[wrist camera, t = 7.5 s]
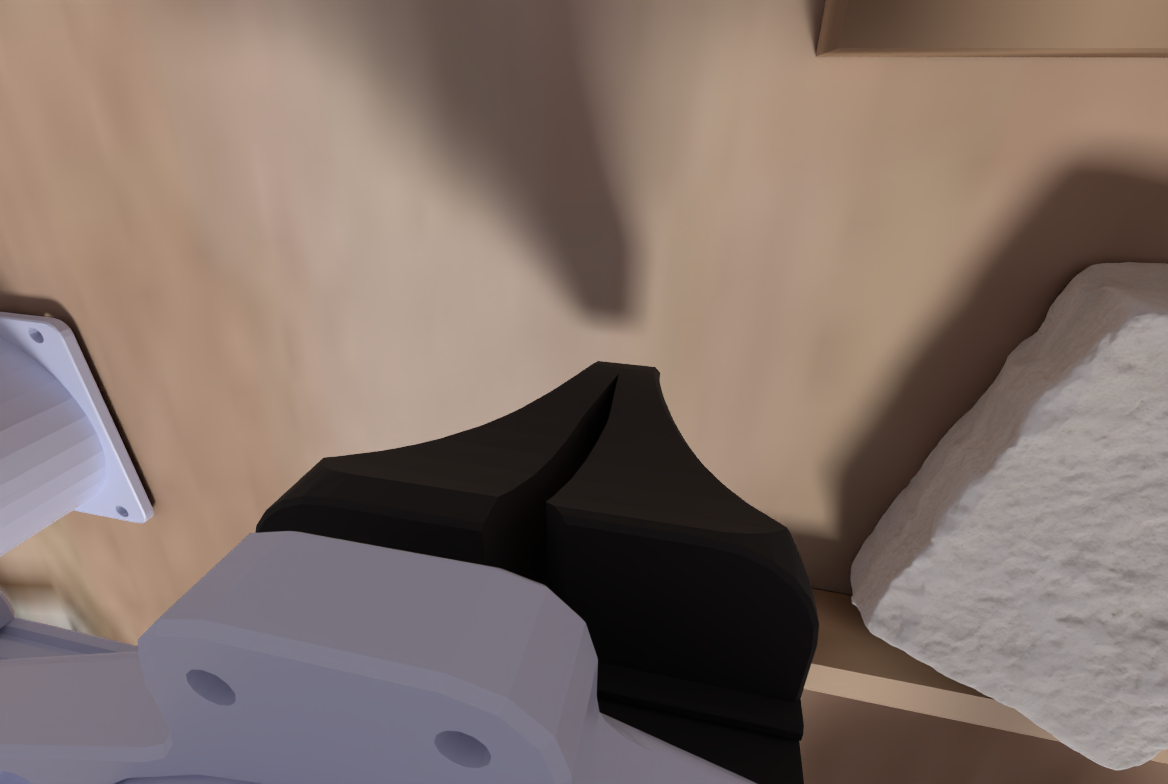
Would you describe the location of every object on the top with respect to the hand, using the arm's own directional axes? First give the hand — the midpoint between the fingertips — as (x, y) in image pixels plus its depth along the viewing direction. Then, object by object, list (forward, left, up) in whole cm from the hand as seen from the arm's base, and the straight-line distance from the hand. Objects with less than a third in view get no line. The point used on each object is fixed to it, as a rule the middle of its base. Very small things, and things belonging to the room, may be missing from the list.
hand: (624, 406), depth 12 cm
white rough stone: (+10, -2, -3) cm, 10 cm away
